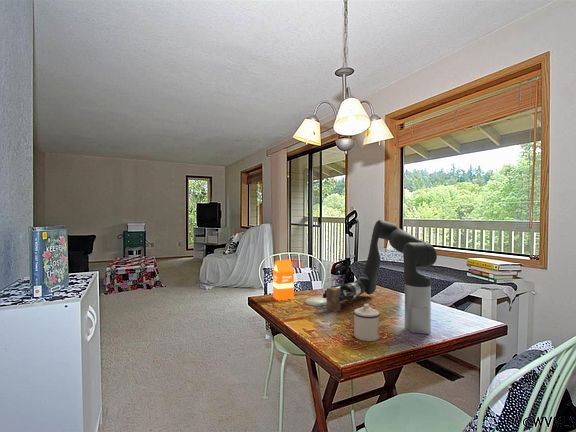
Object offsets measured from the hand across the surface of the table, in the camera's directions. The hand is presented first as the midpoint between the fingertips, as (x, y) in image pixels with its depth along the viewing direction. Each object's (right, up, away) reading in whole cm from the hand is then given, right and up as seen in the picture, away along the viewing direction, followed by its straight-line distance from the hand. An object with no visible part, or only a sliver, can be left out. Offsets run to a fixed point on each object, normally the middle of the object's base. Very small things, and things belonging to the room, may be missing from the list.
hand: (331, 297), depth 143 cm
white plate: (-6, -6, +13) cm, 15 cm away
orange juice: (-22, -6, +21) cm, 32 cm away
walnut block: (+1, -6, +1) cm, 6 cm away
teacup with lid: (+8, -6, -29) cm, 31 cm away
